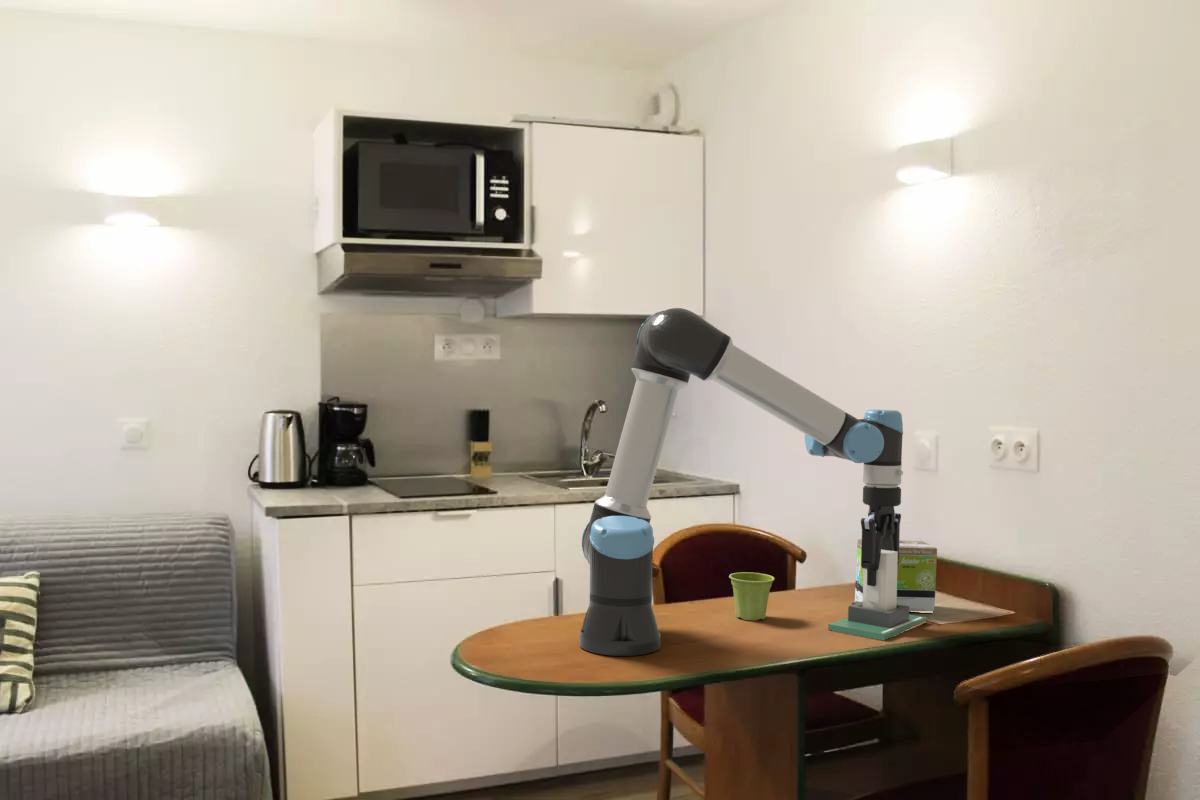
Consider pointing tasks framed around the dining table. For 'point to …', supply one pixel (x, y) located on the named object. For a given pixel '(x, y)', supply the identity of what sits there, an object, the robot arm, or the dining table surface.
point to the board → (876, 621)
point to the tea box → (909, 575)
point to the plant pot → (751, 594)
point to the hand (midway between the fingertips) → (879, 598)
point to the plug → (884, 582)
